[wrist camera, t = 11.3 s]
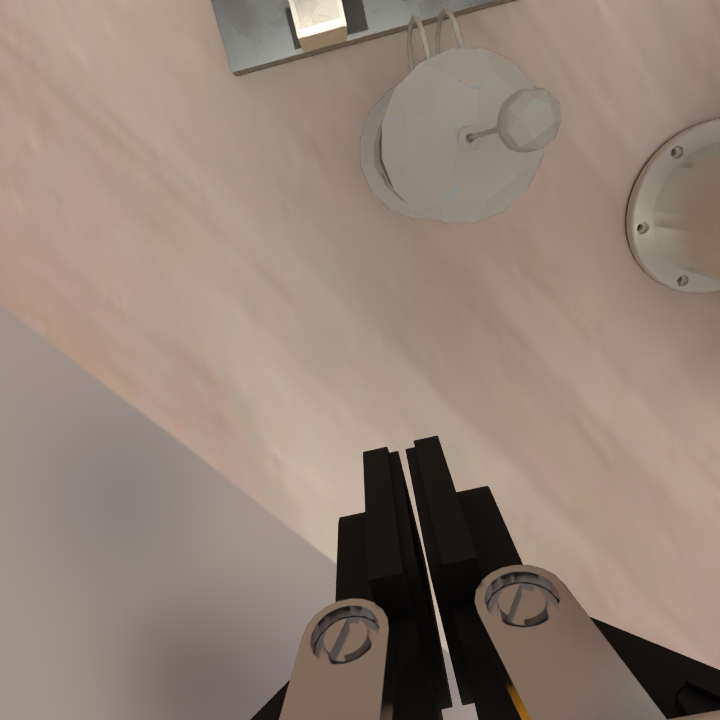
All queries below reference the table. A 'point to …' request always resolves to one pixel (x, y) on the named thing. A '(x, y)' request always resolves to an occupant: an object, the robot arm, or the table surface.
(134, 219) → the table surface
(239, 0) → the panel
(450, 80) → the french press
